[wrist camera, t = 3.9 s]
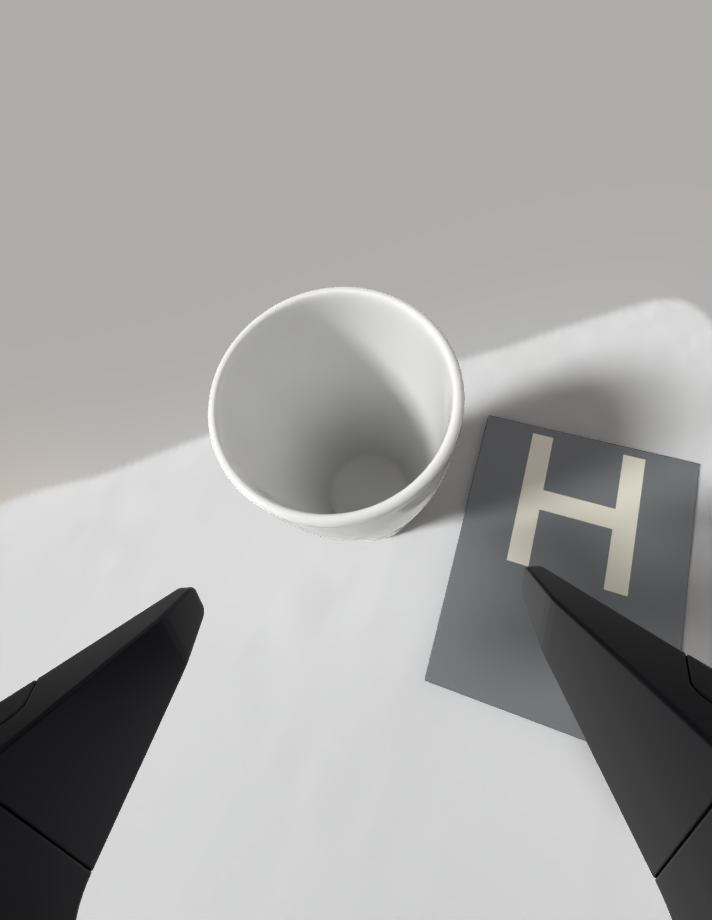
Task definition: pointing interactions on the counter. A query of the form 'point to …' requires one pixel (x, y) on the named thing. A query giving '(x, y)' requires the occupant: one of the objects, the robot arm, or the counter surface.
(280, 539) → the counter surface
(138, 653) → the robot arm
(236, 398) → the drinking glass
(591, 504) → the board
